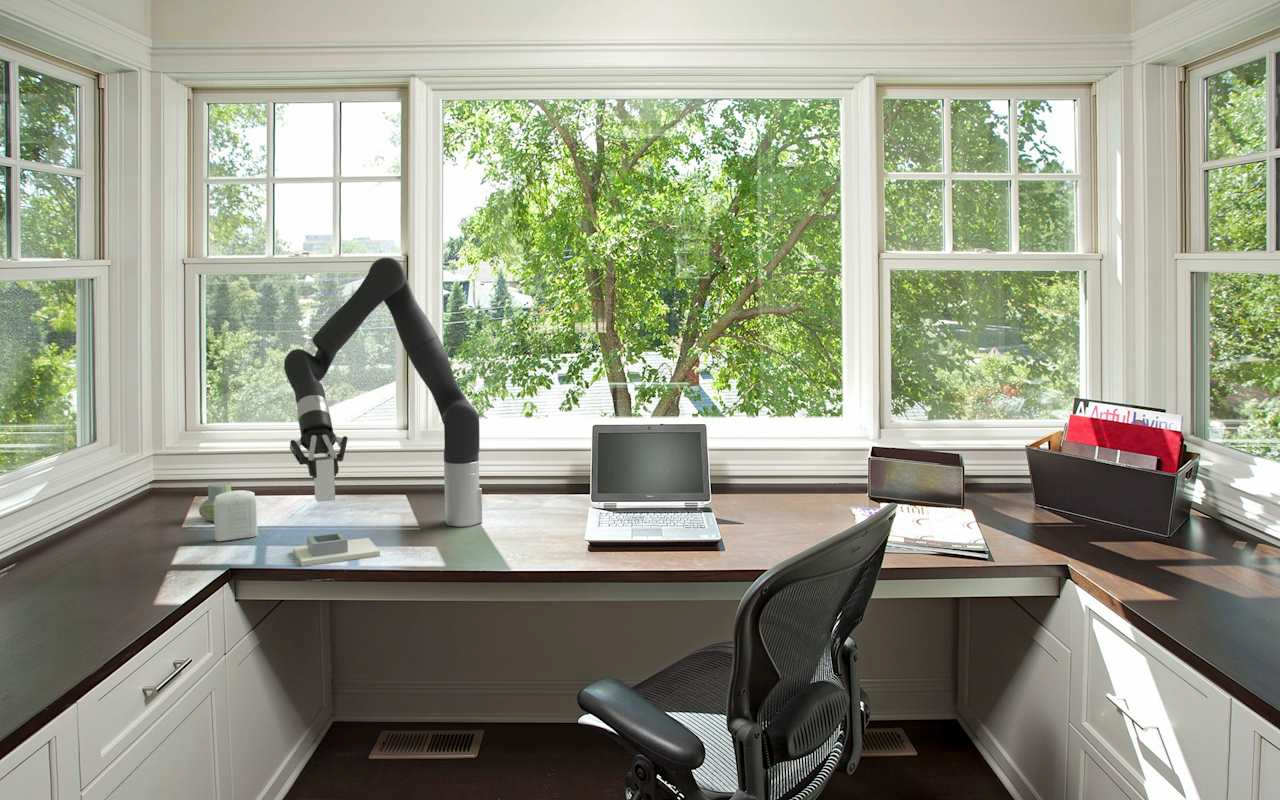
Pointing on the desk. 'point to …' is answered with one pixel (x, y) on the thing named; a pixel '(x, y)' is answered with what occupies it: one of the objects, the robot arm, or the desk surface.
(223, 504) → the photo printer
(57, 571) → the desk surface
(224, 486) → the air freshener
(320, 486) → the grainy grey brick
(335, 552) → the docking board
